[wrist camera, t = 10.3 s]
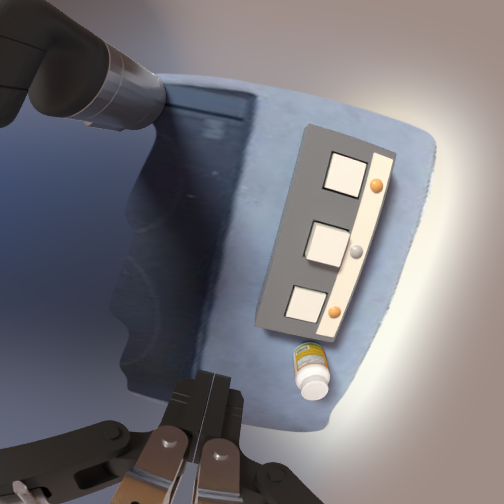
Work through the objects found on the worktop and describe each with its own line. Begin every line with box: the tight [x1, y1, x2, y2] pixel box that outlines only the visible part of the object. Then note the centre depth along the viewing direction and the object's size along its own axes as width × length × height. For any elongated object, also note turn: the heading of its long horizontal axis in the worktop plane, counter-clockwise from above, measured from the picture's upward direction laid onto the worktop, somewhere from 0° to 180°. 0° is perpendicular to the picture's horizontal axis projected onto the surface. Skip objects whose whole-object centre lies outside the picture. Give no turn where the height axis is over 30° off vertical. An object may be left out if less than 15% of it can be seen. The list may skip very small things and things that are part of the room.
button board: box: [254, 124, 397, 342], centre depth 40 cm, size 28×12×5 cm, turn 166°
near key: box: [323, 153, 366, 197], centre depth 36 cm, size 4×4×3 cm
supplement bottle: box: [293, 342, 330, 401], centre depth 44 cm, size 5×5×10 cm
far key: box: [285, 285, 326, 323], centre depth 42 cm, size 4×4×3 cm
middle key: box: [304, 221, 350, 267], centre depth 38 cm, size 4×4×3 cm
